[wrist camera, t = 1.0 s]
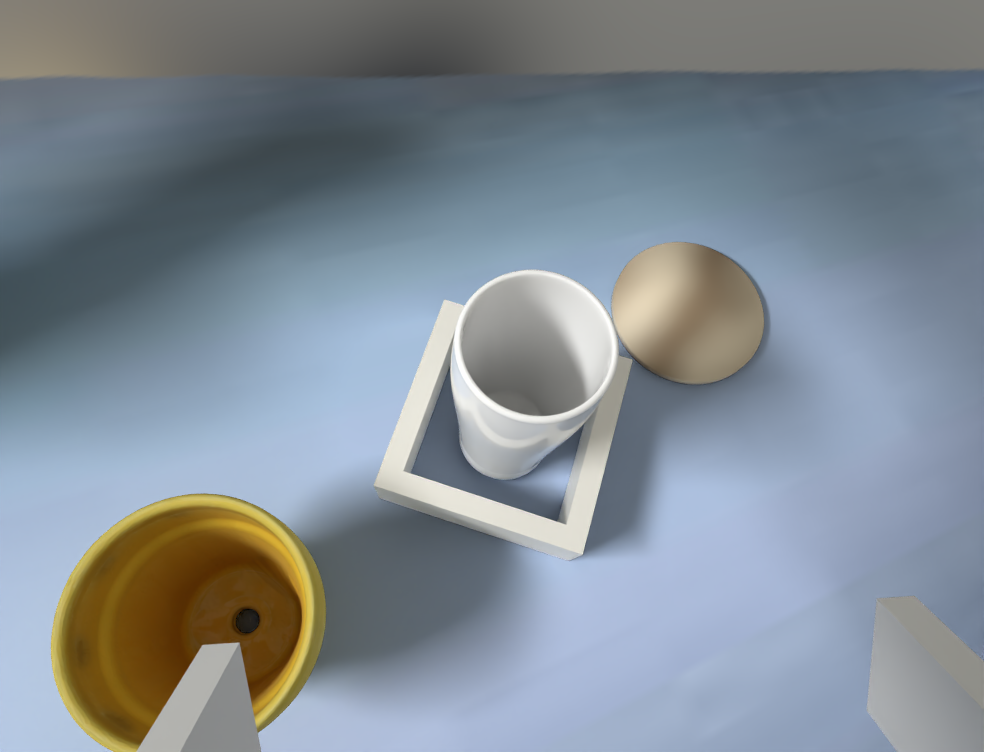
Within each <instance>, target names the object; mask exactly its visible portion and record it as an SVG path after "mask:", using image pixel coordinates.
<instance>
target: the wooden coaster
mask: <svg viewBox="0 0 984 752" xmlns="http://www.w3.org/2000/svg"><path fill="white" fill-rule="evenodd" d="M611 311H612V319H613V323H614V326H615V329H616V332H617V335H618V337H619V338H620V340H621V342H622V344H623V345H624V347H625V348H626V350H627V351H628V352H629V353H630V354H631V356H632V357H633V358H634V359H635V360H636V361H637V362H639V363H640V364H641V365H642V366H643V367H645V368H646V369H648V370H649V371H651V372H652V373H654V374H656V375H658V376H660V377H662V378H665V379H667V380H670V381H674V382H678V383H683V384H708V383H713V382H717V381H720V380H722V379H725V378H727V377H729V376H731V375H732V374H734V373H736V372H737V371H738V370H739V369H740V368H742V367H743V366H744V365H745V364H746V363H747V362H748V361H749V360H750V359H751V358H752V357H753V355H754V353H755V352H756V350H757V349H758V346H759V344H760V342H761V338H762V335H763V328H764V314H763V308H762V304H761V301H760V297H759V295H758V293H757V291H756V288H755V287H754V285H753V283H752V282H751V280H750V279H749V278H748V276H747V275H746V274H745V273H744V271H743V270H742V269H741V268H740V267H739V266H738V265H736V264H735V263H734V262H733V261H731V260H730V259H729V258H727V257H726V256H724V255H723V254H721V253H719V252H717V251H715V250H713V249H710V248H708V247H705V246H702V245H698V244H693V243H686V242H672V243H664V244H660V245H656V246H653V247H651V248H648V249H646V250H644V251H643V252H641V253H639V254H638V255H637V256H635V257H634V258H633V259H632V260H631V261H630V262H629V263H628V264H627V265H626V267H625V268H624V269H623V271H622V272H621V274H620V276H619V278H618V280H617V282H616V284H615V287H614V290H613V295H612V302H611Z"/></svg>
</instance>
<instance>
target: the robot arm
mask: <svg viewBox="0 0 984 752" xmlns="http://www.w3.org/2000/svg"><path fill="white" fill-rule="evenodd" d="M867 711H868V713H869V714H870V716H871V717H872V718H873V720H874V721H875V722H876V724H877V725H878V726H879V728H880V729H881V731H882V732H883V733H884V735H885V736H886V737H887V739H888V740H889V741H890V743H891V744H892V745H893V747H894V748H895V750H896V751H897V752H984V661H983V660H982V659H981V658H980V657H979V656H977V655H976V654H975V653H974V652H973V651H972V650H971V649H970V648H969V647H968V646H967V645H966V644H965V643H964V642H963V641H962V640H961V639H959V638H958V637H957V636H956V635H955V634H954V633H953V632H952V631H951V630H950V629H949V628H948V627H947V626H946V625H945V624H944V623H943V622H941V621H940V620H939V619H938V618H937V617H936V616H935V615H934V614H933V613H932V612H931V611H930V610H929V609H928V608H927V607H926V606H925V605H923V604H922V603H921V602H920V601H919V600H918V599H917V598H916V597H915V596H906V597H892V598H877V602H876V613H875V625H874V636H873V647H872V658H871V669H870V680H869V691H868V702H867ZM136 752H261V748H260V743H259V738H258V733H257V728H256V723H255V718H254V713H253V708H252V703H251V698H250V693H249V688H248V683H247V678H246V673H245V668H244V663H243V658H242V653H241V648H240V643H224V644H210V645H202V647H201V648H200V650H199V652H198V653H197V655H196V656H195V658H194V660H193V661H192V663H191V664H190V666H189V668H188V669H187V671H186V673H185V674H184V676H183V677H182V679H181V681H180V682H179V684H178V685H177V687H176V689H175V690H174V692H173V693H172V695H171V697H170V698H169V700H168V702H167V703H166V705H165V706H164V708H163V710H162V711H161V713H160V714H159V716H158V718H157V719H156V721H155V722H154V724H153V726H152V727H151V729H150V731H149V732H148V734H147V735H146V737H145V739H144V740H143V742H142V743H141V745H140V747H139V748H138V750H137V751H136Z"/></svg>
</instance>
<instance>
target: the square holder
mask: <svg viewBox="0 0 984 752" xmlns="http://www.w3.org/2000/svg"><path fill="white" fill-rule="evenodd" d="M463 308H464V306H463V305H460V304H457V303H454V302H451V301H448V300H444V302H443V305H442V307H441V310H440V312H439V315H438V318H437V320H436V323H435V325H434V328H433V331H432V333H431V336H430V339H429V341H428V344H427V346H426V349H425V352H424V354H423V357H422V360H421V362H420V365H419V367H418V370H417V373H416V375H415V378H414V381H413V383H412V386H411V388H410V391H409V394H408V396H407V399H406V402H405V404H404V407H403V409H402V412H401V415H400V417H399V420H398V423H397V425H396V428H395V430H394V433H393V436H392V438H391V441H390V444H389V446H388V449H387V451H386V454H385V457H384V459H383V462H382V465H381V467H380V470H379V472H378V475H377V478H376V480H375V483H374V487H375V490H376V492H377V494H378V496H379V498H380V499H383V500H386V501H389V502H392V503H395V504H398V505H401V506H404V507H407V508H410V509H413V510H416V511H419V512H422V513H425V514H428V515H431V516H434V517H437V518H440V519H443V520H446V521H449V522H452V523H455V524H458V525H461V526H464V527H467V528H470V529H473V530H476V531H479V532H482V533H485V534H488V535H491V536H494V537H497V538H500V539H503V540H506V541H509V542H513V543H516V544H519V545H522V546H525V547H528V548H531V549H534V550H537V551H540V552H543V553H546V554H549V555H552V556H555V557H558V558H561V559H564V560H567V561H570V560H572V559H574V558H576V557H578V556H581V555H583V551H584V547H585V543H586V540H587V536H588V532H589V528H590V524H591V520H592V516H593V512H594V508H595V505H596V501H597V497H598V493H599V489H600V485H601V481H602V477H603V474H604V470H605V466H606V462H607V458H608V454H609V450H610V446H611V443H612V439H613V435H614V431H615V427H616V423H617V419H618V415H619V412H620V408H621V404H622V400H623V396H624V392H625V388H626V384H627V381H628V377H629V373H630V369H631V365H632V361H633V360H632V359H629V358H626V357H622V356H619V358H618V365H617V369H616V373H615V375H614V378H613V380H612V382H611V384H610V386H609V388H608V389H607V391H606V393H605V395H604V397H603V398H602V400H601V402H600V403H599V405H598V406H597V408H596V409H595V411H594V412H593V413H592V415H591V416H590V417H589V419H588V420H587V421H586V422H585V423H584V427H583V431H582V434H581V438H580V441H579V445H578V449H577V452H576V456H575V460H574V463H573V467H572V470H571V474H570V478H569V481H568V485H567V489H566V492H565V496H564V499H563V503H562V507H561V510H560V514H559V518H558V521H557V522H556V521H553V520H550V519H547V518H544V517H541V516H538V515H535V514H532V513H529V512H526V511H523V510H520V509H517V508H514V507H511V506H508V505H505V504H502V503H499V502H496V501H493V500H490V499H487V498H484V497H481V496H478V495H475V494H472V493H468V492H465V491H462V490H459V489H456V488H453V487H450V486H447V485H444V484H441V483H438V482H435V481H432V480H429V479H426V478H423V477H420V476H417V475H414V474H411V471H412V469H413V466H414V463H415V460H416V458H417V455H418V452H419V449H420V447H421V444H422V441H423V438H424V436H425V433H426V430H427V427H428V425H429V422H430V419H431V416H432V414H433V411H434V408H435V405H436V403H437V400H438V397H439V394H440V392H441V389H442V386H443V383H444V381H445V378H446V375H447V372H448V370H449V367H450V364H451V353H452V345H453V340H454V335H455V329H456V324H457V321H458V318H459V316H460V314H461V311H462V309H463Z"/></svg>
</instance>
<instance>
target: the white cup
mask: <svg viewBox="0 0 984 752" xmlns="http://www.w3.org/2000/svg"><path fill="white" fill-rule="evenodd" d="M618 358H619V344H618V337H617V332H616V329H615V326H614V323H613V321H612V318H611V317H610V315H609V313H608V311H607V310H606V308H605V307H604V305H603V304H602V303H601V301H600V300H599V299H598V298H597V297H596V296H595V295H594V294H593V293H592V292H591V291H590V290H588V289H587V288H586V287H584V286H583V285H582V284H580V283H578V282H577V281H575V280H573V279H571V278H569V277H566V276H564V275H561V274H558V273H554V272H550V271H544V270H521V271H515V272H511V273H507V274H504V275H501V276H499V277H497V278H495V279H493V280H491V281H489V282H488V283H486V284H485V285H483V286H482V287H481V288H480V289H478V290H477V291H476V292H475V293H474V294H473V295H472V296H471V298H470V299H469V300H468V301H467V303H466V304H465V306H464V308H463V309H462V311H461V314H460V316H459V318H458V321H457V324H456V329H455V335H454V340H453V345H452V353H451V365H450V378H451V388H452V395H453V400H454V405H455V410H456V415H457V420H458V425H459V442H460V446H461V450H462V452H463V454H464V456H465V458H466V459H467V461H468V462H469V463H470V465H471V466H472V467H473V468H474V469H476V470H477V471H478V472H480V473H481V474H483V475H485V476H488V477H490V478H494V479H500V480H509V479H515V478H519V477H521V476H524V475H526V474H528V473H529V472H531V471H532V470H533V469H534V468H535V467H536V466H537V465H538V464H539V463H540V462H541V460H542V459H543V458H545V457H546V456H547V455H548V454H549V453H551V452H552V451H553V450H555V449H556V448H557V447H558V446H560V445H561V444H562V443H564V442H565V441H566V440H567V439H568V438H570V437H571V436H572V435H573V434H574V433H575V432H577V431H578V430H579V429H580V428H581V426H582V425H583V424H584V423H585V422H586V421H587V420H588V419H589V417H590V416H591V415H592V413H593V412H594V411H595V409H596V408H597V406H598V405H599V403H600V402H601V400H602V398H603V397H604V395H605V393H606V391H607V389H608V388H609V386H610V384H611V382H612V380H613V378H614V375H615V373H616V369H617V365H618Z"/></svg>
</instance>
